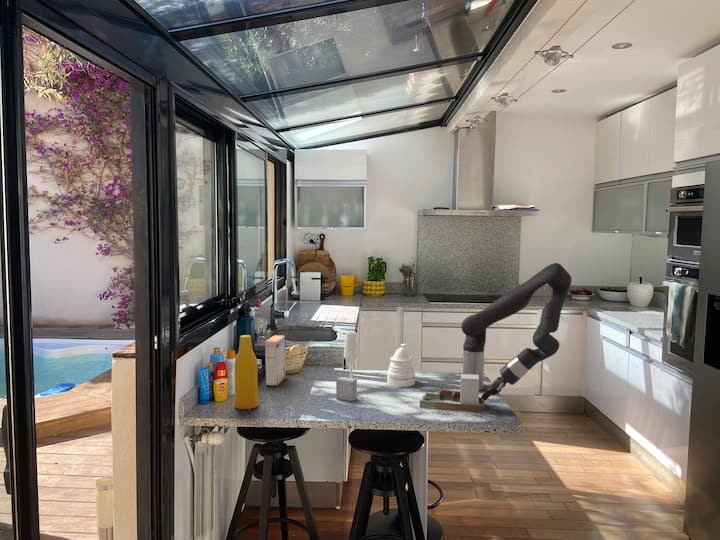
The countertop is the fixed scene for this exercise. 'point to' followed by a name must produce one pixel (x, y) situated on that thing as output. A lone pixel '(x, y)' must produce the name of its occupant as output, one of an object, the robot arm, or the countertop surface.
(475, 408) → the wooden tray
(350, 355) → the champagne flute
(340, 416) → the countertop surface
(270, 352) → the cracker box
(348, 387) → the medicine box
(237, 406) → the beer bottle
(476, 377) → the supplement box
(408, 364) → the honey pot
